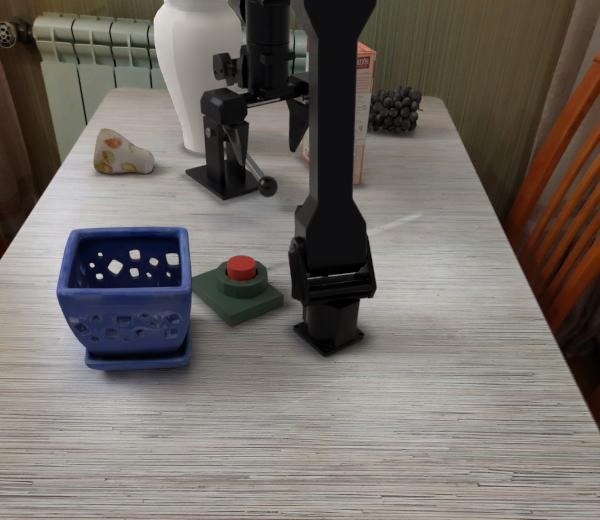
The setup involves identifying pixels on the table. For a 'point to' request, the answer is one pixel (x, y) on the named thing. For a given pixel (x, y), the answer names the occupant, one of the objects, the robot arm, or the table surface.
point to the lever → (258, 175)
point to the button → (241, 268)
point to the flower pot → (128, 297)
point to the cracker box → (362, 107)
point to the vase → (194, 56)
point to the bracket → (221, 166)
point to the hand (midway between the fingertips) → (267, 158)
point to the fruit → (394, 110)
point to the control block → (237, 294)
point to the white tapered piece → (120, 154)
